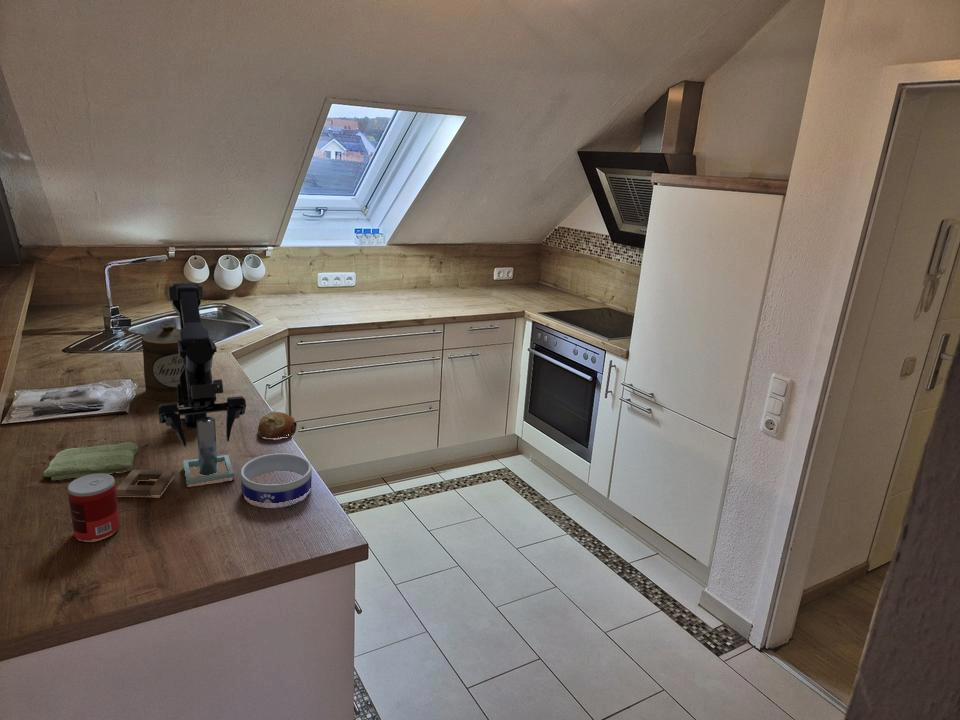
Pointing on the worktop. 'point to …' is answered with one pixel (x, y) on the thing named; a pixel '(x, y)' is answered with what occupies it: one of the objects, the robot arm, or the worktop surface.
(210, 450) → the steel pin
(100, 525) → the canned food
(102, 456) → the washcloth
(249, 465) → the dog bowl
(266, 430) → the bread roll
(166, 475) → the walnut collar
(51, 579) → the worktop surface
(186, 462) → the cradle tray
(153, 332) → the wooden container
